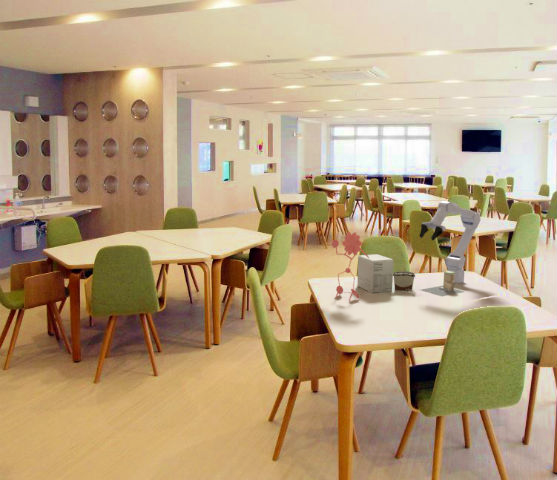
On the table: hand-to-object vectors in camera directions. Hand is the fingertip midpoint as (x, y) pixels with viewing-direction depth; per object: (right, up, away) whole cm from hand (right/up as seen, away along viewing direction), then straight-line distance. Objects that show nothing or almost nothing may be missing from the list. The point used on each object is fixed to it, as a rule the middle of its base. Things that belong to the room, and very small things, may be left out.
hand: (426, 238), depth 325 cm
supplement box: (-27, -29, +8) cm, 40 cm away
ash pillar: (+13, -29, +3) cm, 32 cm away
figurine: (-43, -31, -10) cm, 54 cm away
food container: (-12, -29, +6) cm, 32 cm away
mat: (+9, -30, 0) cm, 31 cm away
